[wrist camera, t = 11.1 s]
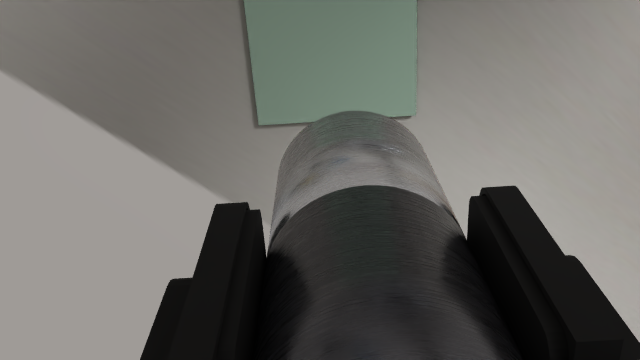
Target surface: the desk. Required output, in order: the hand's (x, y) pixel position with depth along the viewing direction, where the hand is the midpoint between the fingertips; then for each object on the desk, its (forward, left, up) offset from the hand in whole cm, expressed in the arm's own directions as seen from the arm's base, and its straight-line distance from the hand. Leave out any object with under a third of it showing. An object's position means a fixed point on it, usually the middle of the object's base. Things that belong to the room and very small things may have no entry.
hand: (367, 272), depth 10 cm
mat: (0, 0, -20) cm, 20 cm away
